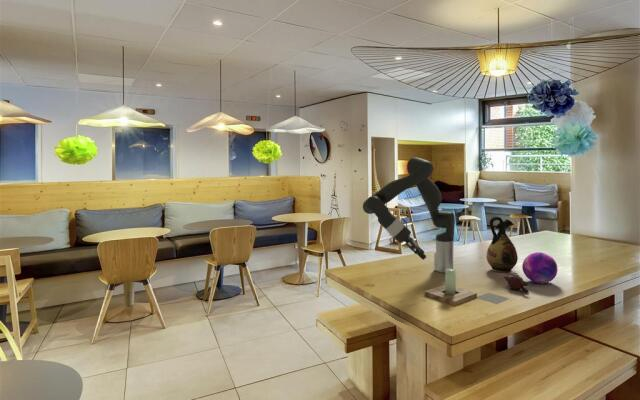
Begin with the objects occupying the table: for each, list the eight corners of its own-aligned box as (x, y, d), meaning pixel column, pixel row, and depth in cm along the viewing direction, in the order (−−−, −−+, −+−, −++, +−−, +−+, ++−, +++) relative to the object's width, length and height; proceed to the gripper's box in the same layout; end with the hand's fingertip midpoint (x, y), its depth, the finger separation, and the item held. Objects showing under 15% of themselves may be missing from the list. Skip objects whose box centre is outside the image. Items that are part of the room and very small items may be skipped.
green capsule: (443, 295, 172) (443, 269, 171) (449, 293, 174) (449, 268, 173) (451, 298, 168) (451, 272, 167) (457, 296, 171) (457, 270, 169)
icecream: (496, 272, 185) (520, 284, 170) (509, 267, 186) (533, 278, 172) (498, 285, 186) (522, 298, 172) (511, 280, 188) (535, 292, 174)
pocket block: (424, 296, 173) (424, 291, 173) (446, 288, 182) (446, 284, 182) (454, 306, 160) (454, 301, 160) (476, 297, 169) (476, 293, 169)
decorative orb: (548, 289, 177) (549, 258, 176) (516, 282, 189) (517, 252, 188) (562, 283, 186) (563, 253, 184) (530, 276, 198) (531, 247, 197)
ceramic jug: (510, 266, 216) (511, 214, 213) (522, 274, 201) (523, 218, 198) (479, 266, 218) (480, 214, 215) (488, 274, 202) (489, 219, 199)
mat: (475, 298, 169) (475, 297, 169) (488, 293, 174) (488, 292, 174) (497, 304, 161) (497, 303, 161) (509, 299, 166) (509, 298, 166)
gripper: (404, 227, 165) (432, 254, 164) (403, 222, 179) (428, 247, 178) (392, 239, 166) (419, 265, 165) (391, 233, 180) (416, 257, 179)
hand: (423, 256), depth 171 cm, fingers open, 8 cm apart
